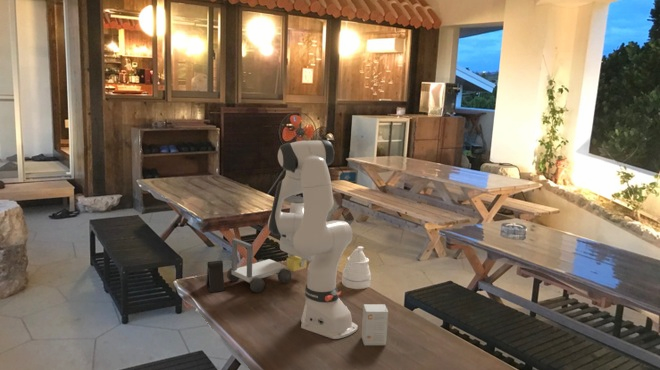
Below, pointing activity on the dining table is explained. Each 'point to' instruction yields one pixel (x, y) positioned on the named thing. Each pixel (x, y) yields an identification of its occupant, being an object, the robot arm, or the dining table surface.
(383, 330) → the small box
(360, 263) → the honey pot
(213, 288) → the phone stand
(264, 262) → the flatbed trolley
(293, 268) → the tall gold block
